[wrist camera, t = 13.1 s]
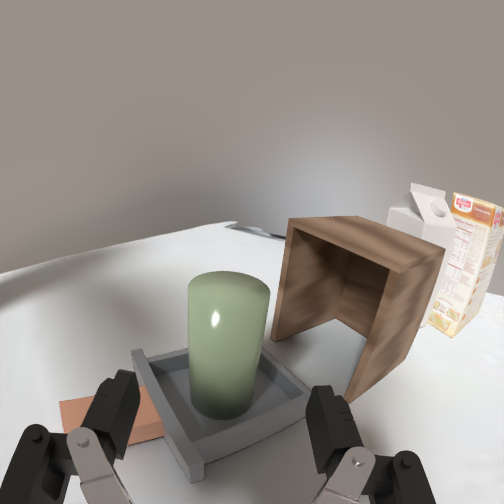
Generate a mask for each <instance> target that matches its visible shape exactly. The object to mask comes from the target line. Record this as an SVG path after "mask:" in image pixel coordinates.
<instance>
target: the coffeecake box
mask: <svg viewBox="0 0 504 504" xmlns="http://www.w3.org/2000/svg"><path fill="white" fill-rule="evenodd" d="M451 214H452V216H453V218H454V220H455V222H456V225H457V231H456V235H455V239H454V243H453V247H452V251H451V254H450V258H449V261H448V265H447V268H446V271H445V274H444V277H443V280H442V283H441V286H440V289H439V292H438V295H437V298H436V301H435V303H434V306H433V309H432V311H431V314H430V316H429V319H428V321H427V323H428V324H429V325H431V326H433V327H435V328H437V329H438V330H440V331H441V332H443V333H444V334H446V335H447V336H449V337H451V338H453V337H454V336H455V335H456V334H457V333H458V332H459V331H460V330H462V329H463V328H464V327H465V326H466V325H467V324H468V323H469V322H470V321H471V320H472V319H473V318H474V316H475V315H476V314H477V313H478V312H479V309H480V306H481V304H482V301H483V298H484V296H485V293H486V290H487V288H488V285H489V282H490V279H491V276H492V273H493V270H494V267H495V263H496V260H497V256H498V253H499V249H500V246H501V242H502V238H503V234H504V208H502V207H500V206H498V205H495V204H492V203H490V202H486V201H484V200H480V199H477V198H474V197H471V196H467V195H463V194H460V193H455V192H454V195H453V202H452V207H451Z"/></svg>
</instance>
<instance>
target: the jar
mask: <svg viewBox="0 0 504 504" xmlns="http://www.w3.org/2000/svg"><path fill="white" fill-rule="evenodd" d="M269 299H270V290H269V288H268V286H267V285H266V284H265V283H264V282H262V281H261V280H259V279H257V278H255V277H253V276H250V275H247V274H243V273H238V272H230V271H216V272H209V273H204V274H201V275H199V276H197V277H195V278H193V279H192V280H191V281H190V283H189V285H188V358H189V387H190V400H191V403H192V405H193V407H194V408H195V409H196V410H197V411H198V412H199V413H201V414H202V415H204V416H206V417H208V418H211V419H216V420H230V419H234V418H237V417H240V416H241V415H243V414H244V413H246V412H247V411H248V409H249V408H250V406H251V404H252V399H253V393H254V388H255V382H256V377H257V371H258V365H259V359H260V354H261V348H262V342H263V336H264V330H265V324H266V318H267V312H268V305H269Z"/></svg>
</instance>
